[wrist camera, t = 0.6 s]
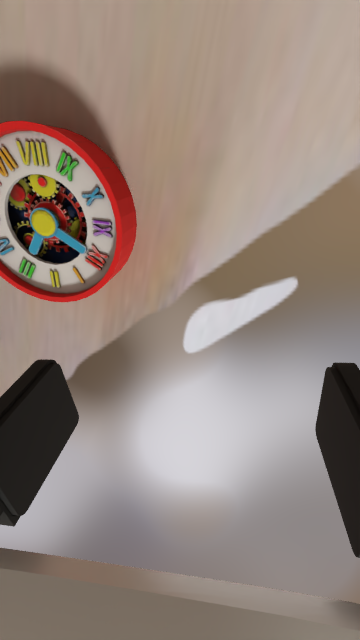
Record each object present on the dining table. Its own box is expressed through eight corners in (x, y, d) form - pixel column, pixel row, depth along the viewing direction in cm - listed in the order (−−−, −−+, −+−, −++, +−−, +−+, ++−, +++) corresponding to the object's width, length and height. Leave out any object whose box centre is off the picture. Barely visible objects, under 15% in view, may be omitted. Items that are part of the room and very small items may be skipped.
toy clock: (-21, 70, 27) (155, 202, 30) (19, 85, 32) (165, 197, 35) (-56, 242, 36) (81, 328, 39) (-21, 233, 41) (97, 310, 44)
